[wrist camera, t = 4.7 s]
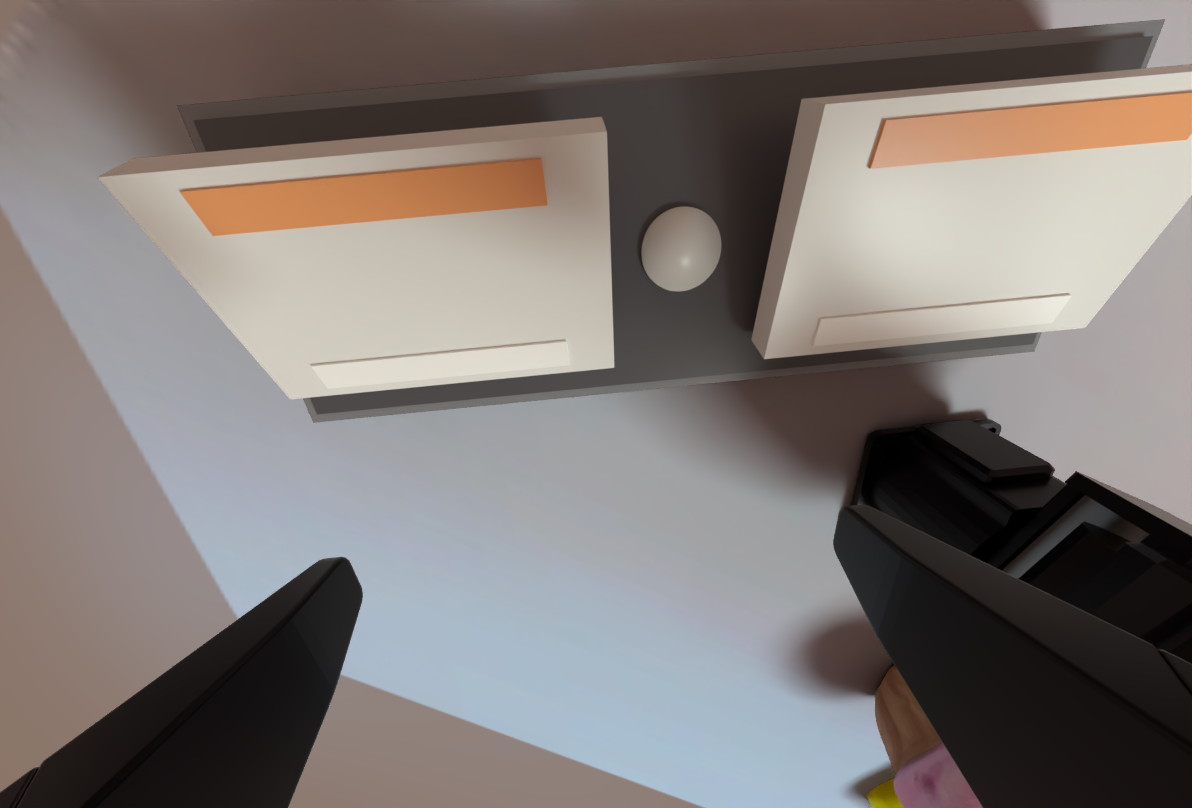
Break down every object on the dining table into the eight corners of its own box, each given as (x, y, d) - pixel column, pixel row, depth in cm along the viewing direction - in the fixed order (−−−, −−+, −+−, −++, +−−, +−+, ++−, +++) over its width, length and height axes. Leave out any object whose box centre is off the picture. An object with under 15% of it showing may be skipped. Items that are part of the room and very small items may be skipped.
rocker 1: (610, 345, 15) (614, 369, 14) (304, 374, 15) (289, 401, 14) (602, 116, 10) (607, 132, 9) (134, 158, 10) (93, 178, 9)
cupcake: (989, 652, 30) (1169, 845, 21) (916, 721, 34) (1043, 912, 24) (886, 634, 28) (1032, 834, 19) (820, 708, 32) (919, 906, 23)
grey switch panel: (968, 330, 19) (1044, 355, 16) (350, 390, 19) (307, 427, 16) (1056, 52, 15) (1183, 13, 12) (250, 123, 14) (164, 102, 11)
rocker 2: (1053, 310, 15) (1088, 329, 14) (751, 340, 15) (765, 360, 14) (1234, 59, 11) (1304, 62, 10) (801, 99, 10) (827, 104, 9)
